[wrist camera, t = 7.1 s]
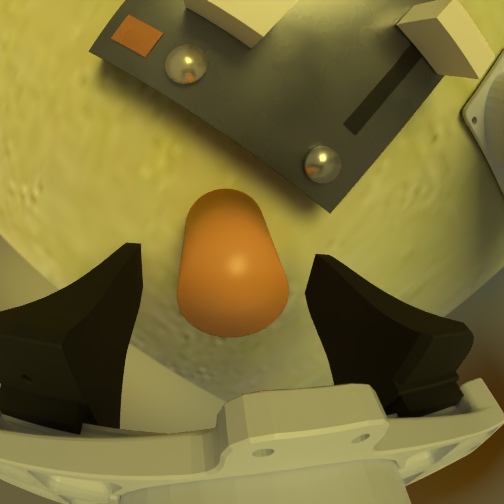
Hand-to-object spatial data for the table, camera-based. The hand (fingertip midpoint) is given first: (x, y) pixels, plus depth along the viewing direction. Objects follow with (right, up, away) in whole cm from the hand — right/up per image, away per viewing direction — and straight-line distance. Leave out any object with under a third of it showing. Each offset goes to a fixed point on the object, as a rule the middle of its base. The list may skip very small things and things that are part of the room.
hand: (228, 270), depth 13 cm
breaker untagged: (+9, +11, -2) cm, 14 cm away
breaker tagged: (0, +10, -3) cm, 11 cm away
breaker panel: (+3, +11, -1) cm, 12 cm away
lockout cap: (0, +2, +4) cm, 4 cm away
